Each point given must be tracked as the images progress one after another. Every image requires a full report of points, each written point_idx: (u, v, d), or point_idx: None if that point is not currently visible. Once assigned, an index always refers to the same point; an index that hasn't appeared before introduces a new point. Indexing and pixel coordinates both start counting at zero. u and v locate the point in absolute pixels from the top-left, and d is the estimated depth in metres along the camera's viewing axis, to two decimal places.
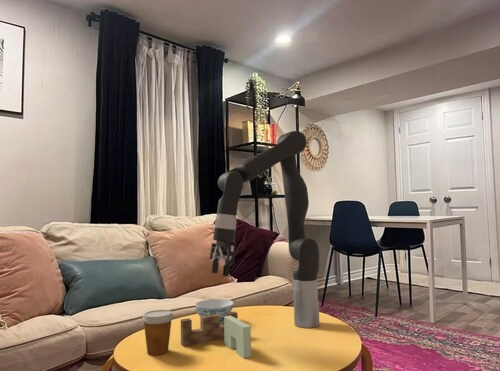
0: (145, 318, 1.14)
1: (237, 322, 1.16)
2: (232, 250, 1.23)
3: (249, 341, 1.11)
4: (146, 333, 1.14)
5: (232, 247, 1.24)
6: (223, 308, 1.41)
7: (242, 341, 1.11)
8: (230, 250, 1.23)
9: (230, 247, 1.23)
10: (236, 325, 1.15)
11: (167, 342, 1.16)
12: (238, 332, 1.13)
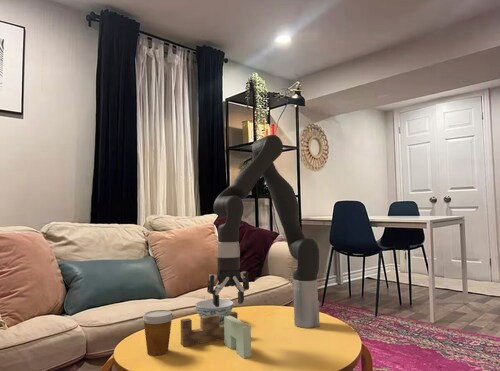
0: (145, 318, 1.14)
1: (237, 322, 1.16)
2: None
3: (249, 341, 1.11)
4: (146, 333, 1.14)
5: None
6: (223, 308, 1.41)
7: (242, 341, 1.11)
8: None
9: None
10: (236, 325, 1.15)
11: (167, 342, 1.16)
12: (238, 332, 1.13)
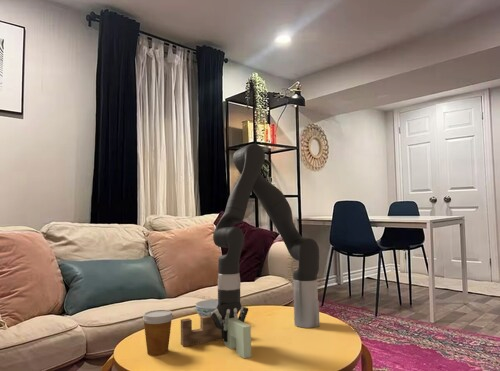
0: (145, 318, 1.14)
1: (237, 322, 1.16)
2: None
3: (249, 341, 1.11)
4: (146, 333, 1.14)
5: None
6: None
7: (242, 341, 1.11)
8: None
9: None
10: (236, 325, 1.15)
11: (167, 342, 1.16)
12: (238, 332, 1.13)
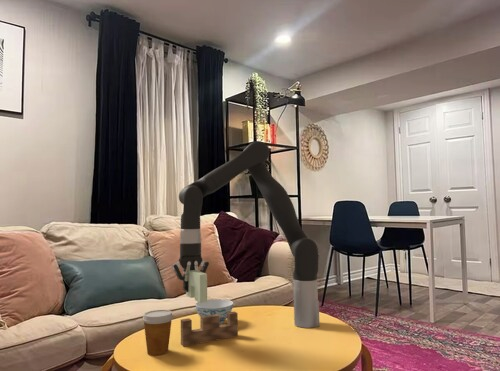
0: (145, 318, 1.14)
1: (196, 272, 1.25)
2: None
3: (205, 287, 1.20)
4: (146, 333, 1.14)
5: None
6: (223, 308, 1.41)
7: (199, 287, 1.20)
8: None
9: None
10: (194, 274, 1.24)
11: (167, 342, 1.16)
12: (196, 280, 1.22)
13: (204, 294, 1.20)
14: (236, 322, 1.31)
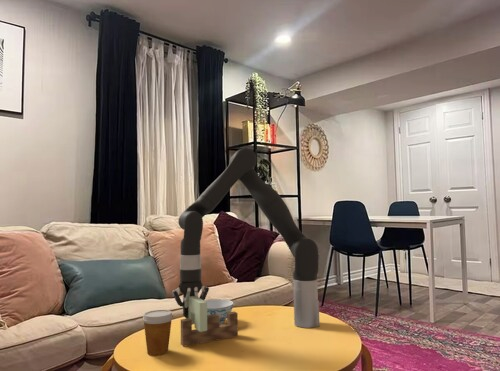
0: (145, 318, 1.14)
1: (196, 299, 1.24)
2: None
3: (205, 316, 1.20)
4: (146, 333, 1.14)
5: None
6: (223, 308, 1.41)
7: (199, 316, 1.19)
8: None
9: None
10: (194, 302, 1.23)
11: (167, 342, 1.16)
12: (196, 307, 1.22)
13: (204, 323, 1.19)
14: (236, 322, 1.31)
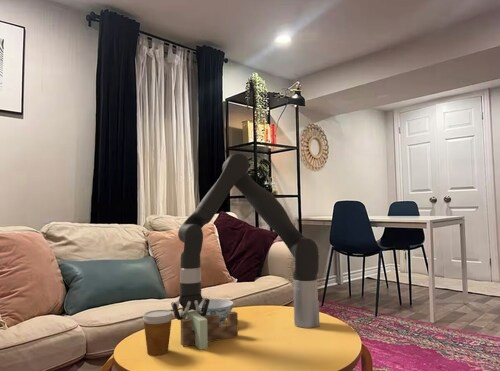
0: (145, 318, 1.14)
1: (196, 316, 1.24)
2: None
3: (205, 333, 1.19)
4: (146, 333, 1.14)
5: None
6: (223, 308, 1.41)
7: (199, 333, 1.19)
8: None
9: None
10: (194, 319, 1.23)
11: (167, 342, 1.16)
12: (196, 325, 1.21)
13: (204, 340, 1.19)
14: (236, 322, 1.31)
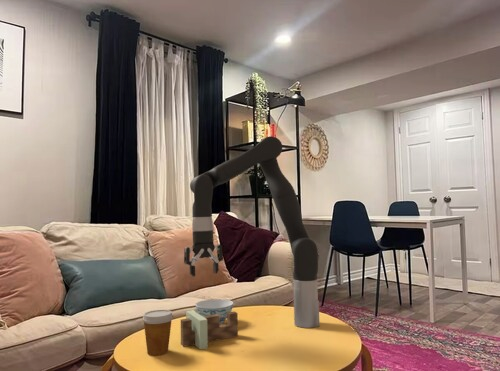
0: (145, 318, 1.14)
1: (196, 316, 1.24)
2: None
3: (206, 333, 1.19)
4: (146, 333, 1.14)
5: None
6: (223, 308, 1.41)
7: (199, 333, 1.19)
8: None
9: None
10: (194, 319, 1.23)
11: (167, 342, 1.16)
12: (196, 325, 1.21)
13: (204, 340, 1.19)
14: (236, 322, 1.31)
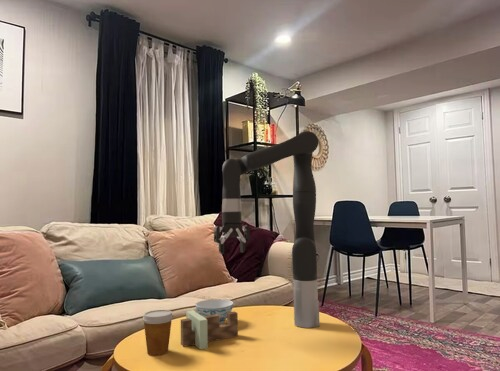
0: (145, 318, 1.14)
1: (196, 316, 1.24)
2: None
3: (206, 333, 1.19)
4: (146, 333, 1.14)
5: None
6: (223, 308, 1.41)
7: (199, 333, 1.19)
8: None
9: None
10: (194, 319, 1.23)
11: (167, 342, 1.16)
12: (196, 325, 1.21)
13: (204, 340, 1.19)
14: (236, 322, 1.31)
